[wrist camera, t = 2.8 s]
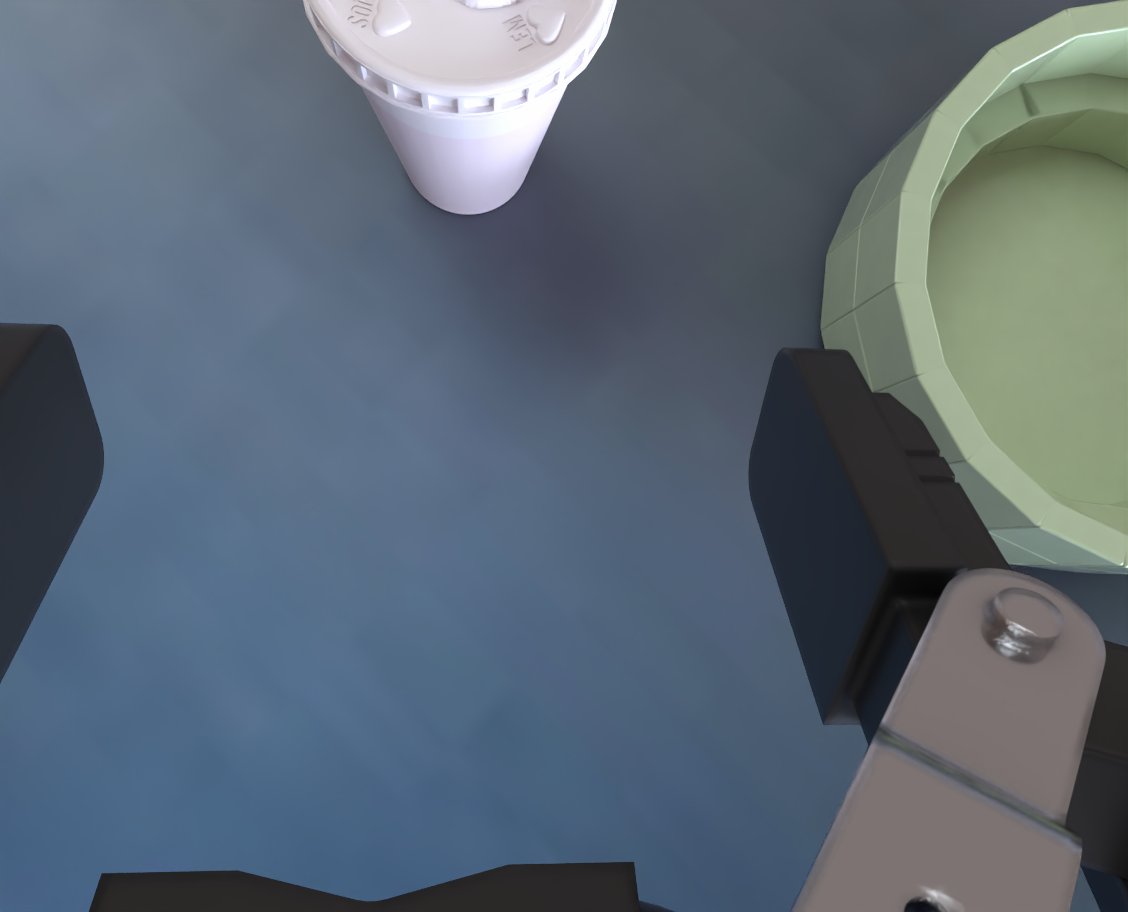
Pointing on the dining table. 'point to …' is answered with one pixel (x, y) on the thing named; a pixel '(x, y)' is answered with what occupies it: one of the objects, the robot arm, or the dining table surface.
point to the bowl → (1008, 287)
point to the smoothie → (463, 82)
